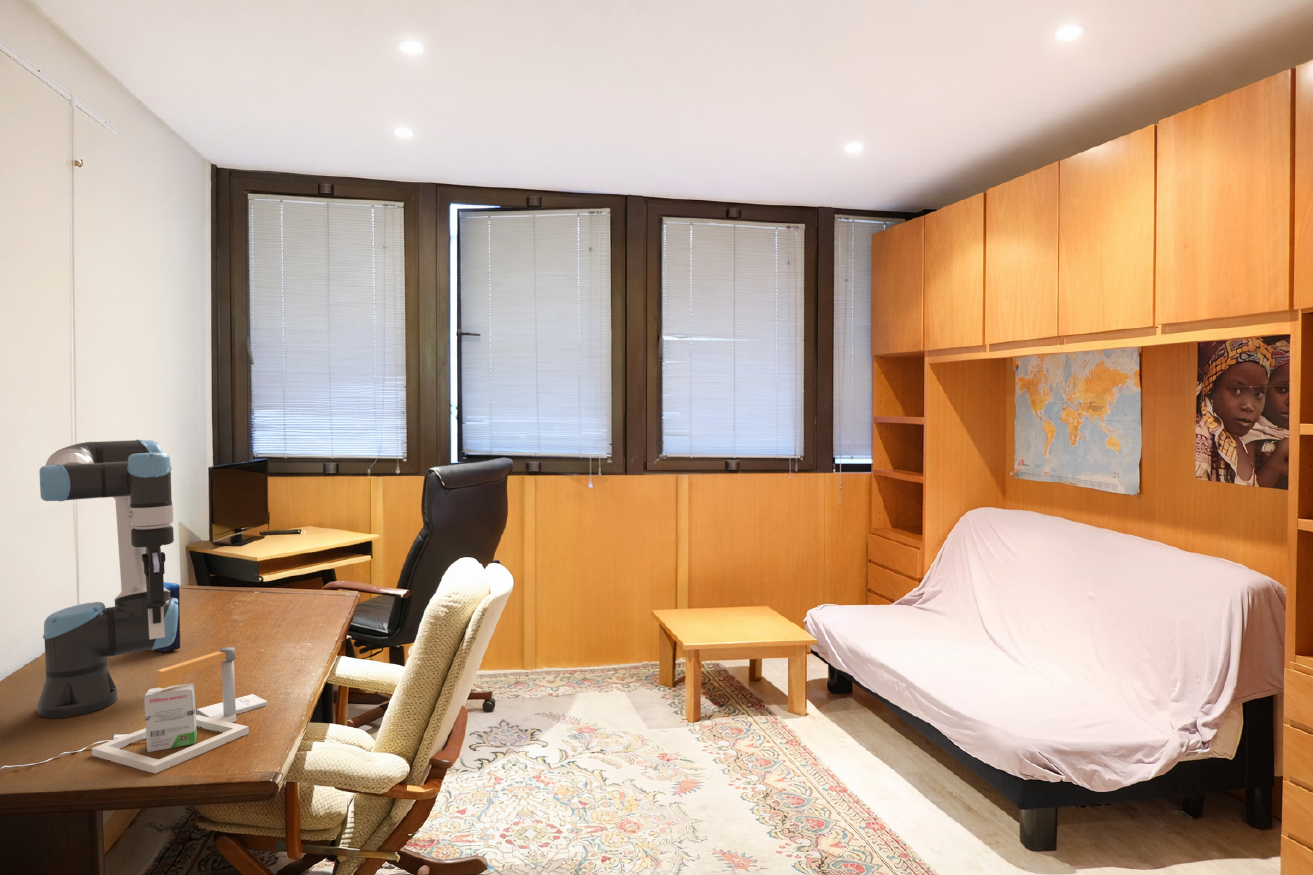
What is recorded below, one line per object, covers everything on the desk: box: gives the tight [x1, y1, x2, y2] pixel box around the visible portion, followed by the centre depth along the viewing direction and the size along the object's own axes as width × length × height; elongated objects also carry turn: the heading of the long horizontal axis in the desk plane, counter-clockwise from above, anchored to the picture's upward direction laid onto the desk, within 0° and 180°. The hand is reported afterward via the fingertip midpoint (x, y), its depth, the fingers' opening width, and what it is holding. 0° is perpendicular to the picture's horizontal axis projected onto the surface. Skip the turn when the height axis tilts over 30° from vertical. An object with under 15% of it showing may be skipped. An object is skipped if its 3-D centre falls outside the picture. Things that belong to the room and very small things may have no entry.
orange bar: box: [156, 646, 236, 689], centre depth 169 cm, size 3×16×4 cm, turn 155°
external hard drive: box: [195, 693, 268, 718], centre depth 182 cm, size 2×8×12 cm
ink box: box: [143, 682, 198, 753], centre depth 163 cm, size 9×5×12 cm, turn 114°
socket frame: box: [91, 660, 250, 775], centre depth 165 cm, size 20×24×14 cm
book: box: [153, 581, 181, 653], centre depth 229 cm, size 14×5×20 cm, turn 62°
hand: (157, 637), depth 166 cm, fingers closed
